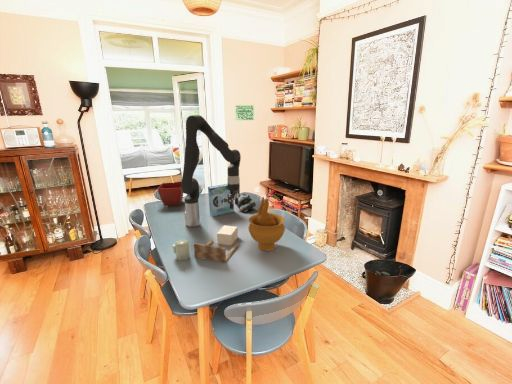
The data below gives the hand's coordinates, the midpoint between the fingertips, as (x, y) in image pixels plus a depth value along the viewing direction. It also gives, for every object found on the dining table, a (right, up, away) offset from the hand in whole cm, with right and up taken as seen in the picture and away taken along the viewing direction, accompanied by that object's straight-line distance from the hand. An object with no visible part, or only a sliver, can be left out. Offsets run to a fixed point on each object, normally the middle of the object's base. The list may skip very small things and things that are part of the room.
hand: (234, 206), depth 166 cm
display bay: (-8, -25, -19) cm, 32 cm away
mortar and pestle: (+20, -23, -13) cm, 33 cm away
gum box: (-13, -8, +38) cm, 41 cm away
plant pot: (-59, -1, +61) cm, 84 cm away
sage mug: (-26, -26, -24) cm, 44 cm away
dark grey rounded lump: (+5, -5, +45) cm, 46 cm away
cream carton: (-4, -21, -5) cm, 22 cm away
